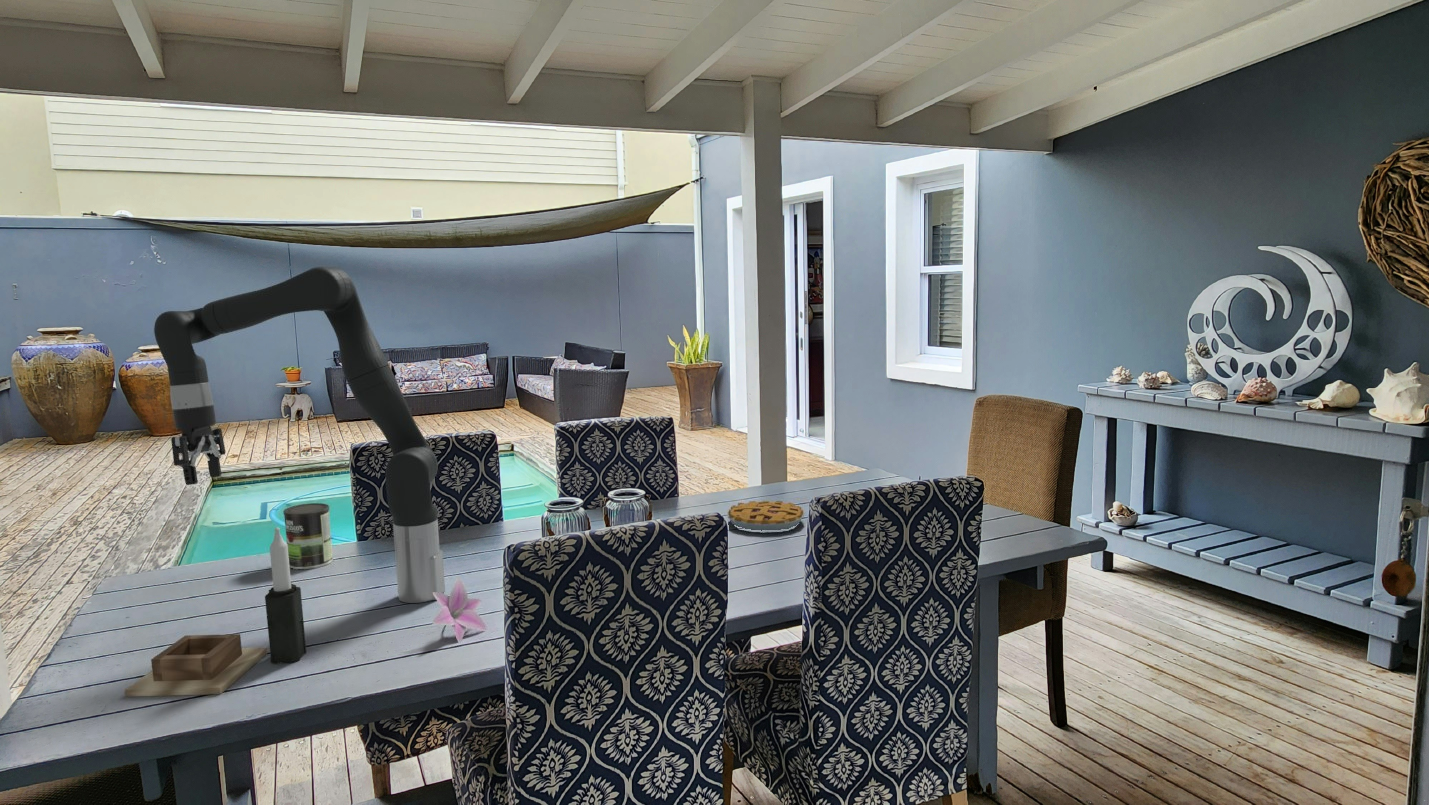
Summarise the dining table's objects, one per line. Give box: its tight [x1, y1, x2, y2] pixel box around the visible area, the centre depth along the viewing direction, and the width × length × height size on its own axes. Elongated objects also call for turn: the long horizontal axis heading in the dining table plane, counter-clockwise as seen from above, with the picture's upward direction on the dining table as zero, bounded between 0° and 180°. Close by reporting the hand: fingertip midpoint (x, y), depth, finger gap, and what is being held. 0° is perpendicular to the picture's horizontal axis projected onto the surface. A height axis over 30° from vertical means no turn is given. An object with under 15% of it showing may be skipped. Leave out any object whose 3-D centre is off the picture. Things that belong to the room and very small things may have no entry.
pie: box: [726, 500, 805, 531], centre depth 240 cm, size 22×22×5 cm
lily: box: [432, 577, 488, 643], centre depth 169 cm, size 12×12×10 cm
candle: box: [264, 527, 307, 665], centre depth 157 cm, size 5×5×25 cm
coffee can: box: [283, 502, 334, 570], centre depth 212 cm, size 10×10×14 cm
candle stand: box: [124, 633, 268, 698], centre depth 153 cm, size 16×16×5 cm
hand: (204, 480), depth 182 cm, fingers open, 8 cm apart
